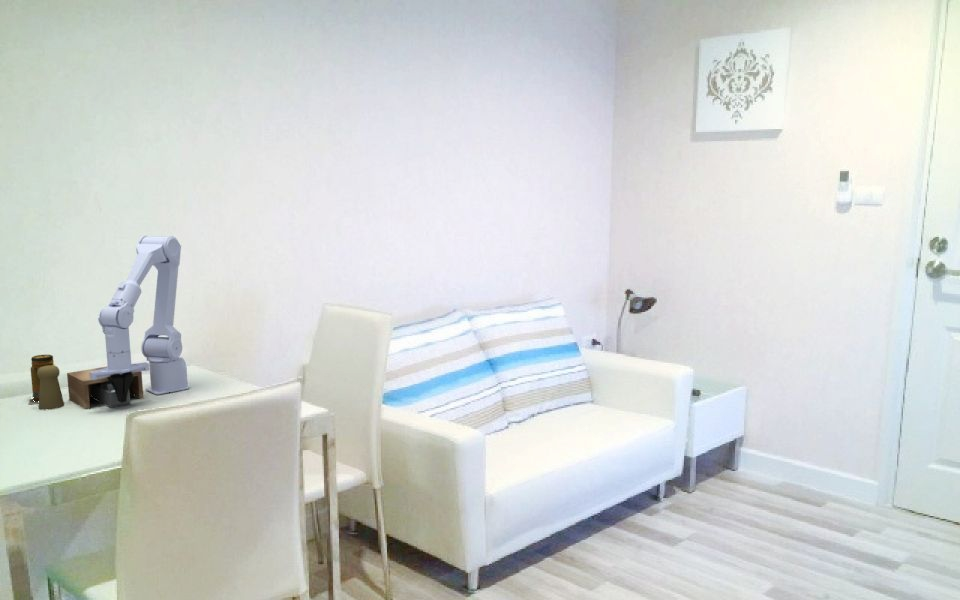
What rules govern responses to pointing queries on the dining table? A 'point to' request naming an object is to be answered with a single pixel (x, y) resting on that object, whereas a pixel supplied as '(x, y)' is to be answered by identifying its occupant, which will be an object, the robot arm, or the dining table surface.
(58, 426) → the dining table surface
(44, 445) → the dining table surface
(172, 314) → the robot arm
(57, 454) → the dining table surface
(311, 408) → the dining table surface
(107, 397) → the tray
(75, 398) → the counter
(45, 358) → the condiment
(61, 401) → the cork
